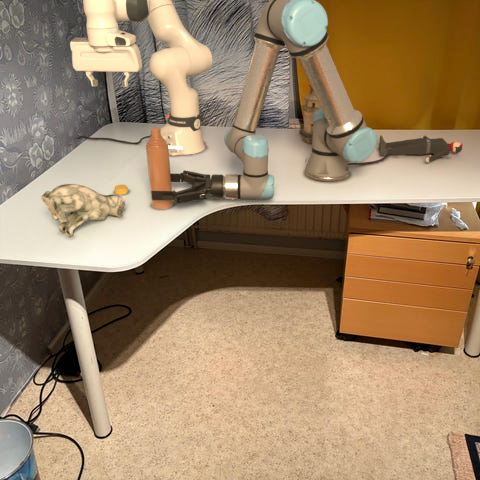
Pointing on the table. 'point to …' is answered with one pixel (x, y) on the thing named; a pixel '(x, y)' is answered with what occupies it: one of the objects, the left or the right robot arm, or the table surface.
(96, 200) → the figurine
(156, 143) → the bottle
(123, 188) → the cap
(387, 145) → the toy
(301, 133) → the miniature building
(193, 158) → the table surface
